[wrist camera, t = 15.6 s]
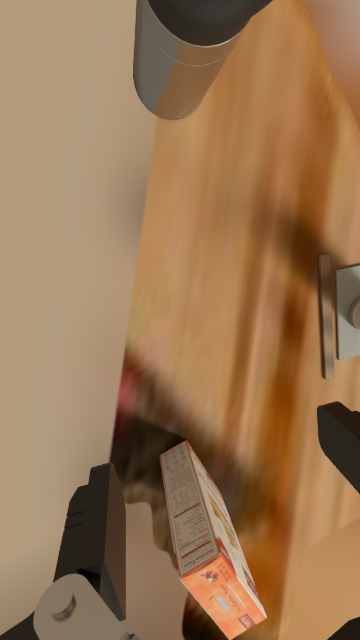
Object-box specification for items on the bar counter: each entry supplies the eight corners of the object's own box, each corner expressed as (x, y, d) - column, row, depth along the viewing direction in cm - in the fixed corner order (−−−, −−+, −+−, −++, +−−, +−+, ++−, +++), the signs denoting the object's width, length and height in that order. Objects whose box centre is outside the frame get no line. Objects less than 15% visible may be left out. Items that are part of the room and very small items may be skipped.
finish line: (318, 255, 49) (320, 255, 48) (327, 253, 49) (329, 253, 49) (323, 378, 56) (326, 379, 55) (332, 376, 56) (334, 377, 55)
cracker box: (221, 488, 59) (270, 620, 39) (193, 504, 59) (228, 644, 39) (188, 436, 54) (223, 555, 35) (157, 453, 54) (176, 582, 35)
